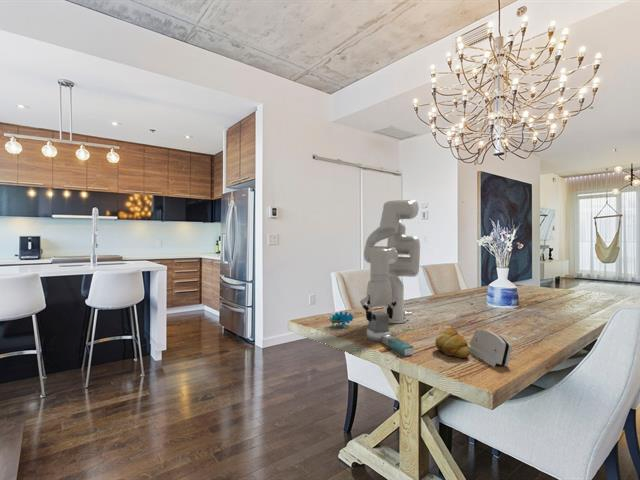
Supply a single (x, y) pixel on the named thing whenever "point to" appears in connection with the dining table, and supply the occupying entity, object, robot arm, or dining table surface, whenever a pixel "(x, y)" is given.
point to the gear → (341, 318)
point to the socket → (379, 322)
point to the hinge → (490, 347)
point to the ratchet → (391, 342)
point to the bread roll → (452, 344)
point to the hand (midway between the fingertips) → (379, 319)
